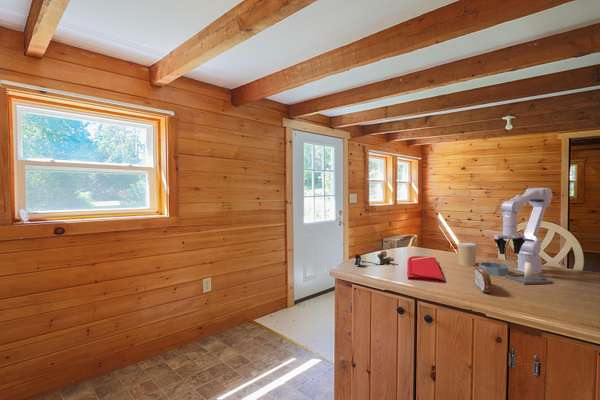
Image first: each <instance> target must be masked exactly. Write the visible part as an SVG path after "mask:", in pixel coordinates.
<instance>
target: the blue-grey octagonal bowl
mask: <svg viewBox="0 0 600 400" xmlns="http://www.w3.org/2000/svg"><path fill="white" fill-rule="evenodd" d="M478 268H483V269H485V270H486V271H487V272H488V273H489V275H491V276H492V275H493V276H498V277H499V276H501V277H502V276H505V275H510V274H509V273H510V265H506V264H503V263H499V262H491V261H486V262H485V261H483V262H482V261H481V262H480V263H478Z"/></svg>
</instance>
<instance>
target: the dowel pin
mask: <svg viewBox="0 0 600 400" xmlns="http://www.w3.org/2000/svg"><path fill="white" fill-rule="evenodd" d="M531 265H532V263H529V262H525V270H524V272H523V274H524V279H526V280H531V274H532V272H531Z"/></svg>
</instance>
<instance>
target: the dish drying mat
mask: <svg viewBox="0 0 600 400" xmlns="http://www.w3.org/2000/svg"><path fill="white" fill-rule="evenodd" d="M440 268H441V267H440V265H439V263H438V261H437V258H436V257H434V256H423V255H422V256H421V255H417V256H416V255H413V256H409V257H408V259H407V271H406V272H407V273H406V275H407V280H408V281H419V282H429V283H431V282H432V283H441V284H443V283H444V282H445V280H444V275H443V273H442V271H441V269H440Z"/></svg>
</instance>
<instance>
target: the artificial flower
mask: <svg viewBox="0 0 600 400" xmlns="http://www.w3.org/2000/svg"><path fill="white" fill-rule="evenodd" d="M376 256H377V258H378V259H379V263H375V262H371V261H366V260H362V256H361V255H360V254H358V253H357V254H356V255H355V257H354V258H355V261H354V266H355V265H358V266H357V267H360V266H361V263H363V264H364V263H367V264H368V263H369V264H372V265H376V266H381V265H383V264H384V263H388V262H390V263H391V262H394V261H395V259H394V257H391V256H388V252H387V250H382V251H380V253H377V254H376ZM387 256H388V257H387Z"/></svg>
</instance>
